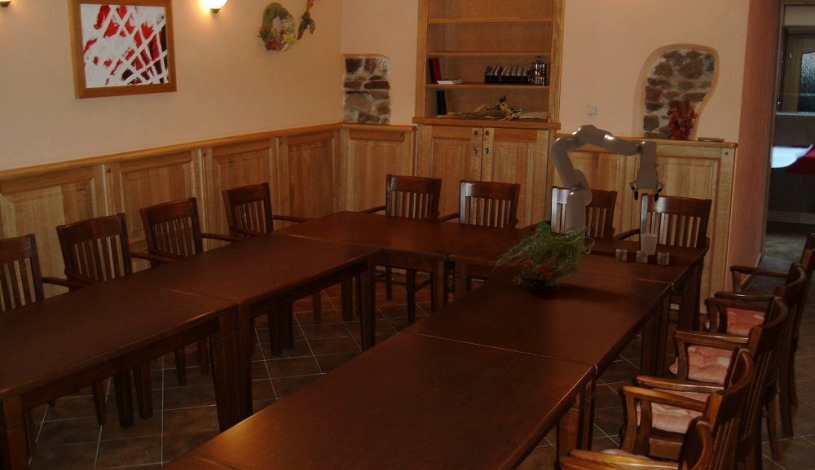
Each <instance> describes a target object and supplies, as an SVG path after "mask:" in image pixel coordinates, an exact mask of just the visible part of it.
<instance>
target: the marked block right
mask: <svg viewBox="0 0 815 470" xmlns="http://www.w3.org/2000/svg"><path fill="white" fill-rule="evenodd" d="M669 260H670V253H669V252H660V251H659V252H658V251H657V260H656V261H657V265H664V266H667V265H669V262H670V261H669Z"/></svg>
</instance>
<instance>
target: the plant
mask: <svg viewBox="0 0 815 470" xmlns="http://www.w3.org/2000/svg"><path fill="white" fill-rule="evenodd" d="M537 223H538V224H536V226H537V227H535V228H534V229H535V230H538V231H536V232H535V233H536V234H535V235H522V237H524V239H523V240H520V241H519V243H517V242H516V243H514V244H513V247H510V248H507V252H506V253H503V254H501V255H500V256H497V260H496V259H495V260H494V261H491V262H490V261H488V263H489V265H490V266H495V268H493V269H492V271H493V270H495V269H496V268H498V266H502V265H503V264H504V263H505V264H508V263H509V262H510V261H511V260H512V259H513V258H517V259H516V260H515V261H514V262H513V263H512V264H511V263H510V264H509V265H510V267H511V266H514V265H515V264H517V263H519V262H521V261H522V260H525V259H526V260H525V261H524V262H523V263H522V264H524V266H523V267H522V270H521V273H520V274H519V275H518V276H514V277H513V279H512V280H511V282H515V283H516V282H518V283H517V285H520V283H522V282H523V284H524V285H525V286H526V287H529V288H532V287H535V288H537V289H538V288H539V289H540V290H543V291H545V292H548V291H550V290H551V289H554V286H555V287H557V289H558V290H560V286H558V284H561V282H562V283H563V282H564V283H567V284H568V282H571V281H572V280H574V281H577V280H578V278H579V277H581V274H582V272H581V273H579V270H581V269H583V268H584V267H585V264H587V263H589V262H590V261H589V260H587V259H589V258H590V256H588V257H585V258H583V256H584V255H585V254H588V255H589V254H591V253H592V249H591V248H593V247H594V246H595V244H596V242H595V240H594V239H593V237H591V236H587V235H586V236H585V237H582V238H581V236H582V235H583V233H584V232H585V233H586V231H587V230H588V229H589V226H585V227H584V228H585V229H584V230H582V231H580V233H579V234H578V232H577V229H576V228H573V227H571V228H569V229H567V230H566V229H565V230H564V231H562V230H558V229H556V231H557V232H559V234H557V235H555V233H553V230H552V228H551V227H550V225H549V224H548V223H547V222H545V221H538V220H537ZM570 229H574V231H575V234H576V236H575V234H574V233H573V231H569V232H570V233H572V235H570V234H569V233H568V234H566V232H567V231H568V230H570ZM581 229H582V228H581ZM578 230H579V229H578ZM563 234H564V235H563ZM537 235H539V237H537ZM566 235H568V236H567V237H568V238H566ZM581 239H582V240H581ZM586 239H591V240H592V243H590V245H587V246H585V240H586ZM578 243H579V244H578ZM580 243H581V245H580ZM560 245H562V246H560ZM578 245H579V246H578ZM583 246H584V247H585V248H583ZM517 250H518V251H517ZM578 250H579V251H578ZM584 250H586V251H584ZM587 250H588V251H587ZM581 251H583V252H584V253H583V252H581ZM582 253H583V254H582ZM581 254H582V255H581ZM500 257H501V258H500ZM581 257H582V258H581ZM586 260H587V261H586ZM495 262H496V264H495ZM526 262H527V263H526ZM583 262H584V263H583ZM492 264H494V265H492ZM525 264H526V265H525ZM596 269H599V267H597V268H594V269H590V270H588V271H583V274H584V275H582V277H581V278H580V280H582V279H584V277H585V276H586V274H585V273H587V272H590V271H594V270H596ZM567 276H568V277H567ZM592 277H596V275H595V276H592ZM515 278H516V279H515ZM588 278H590V276H588V277H586V279H588ZM570 279H571V280H570ZM567 281H568V282H567ZM568 285H569V284H568ZM550 286H551V287H552V288H551V287H550Z"/></svg>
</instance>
